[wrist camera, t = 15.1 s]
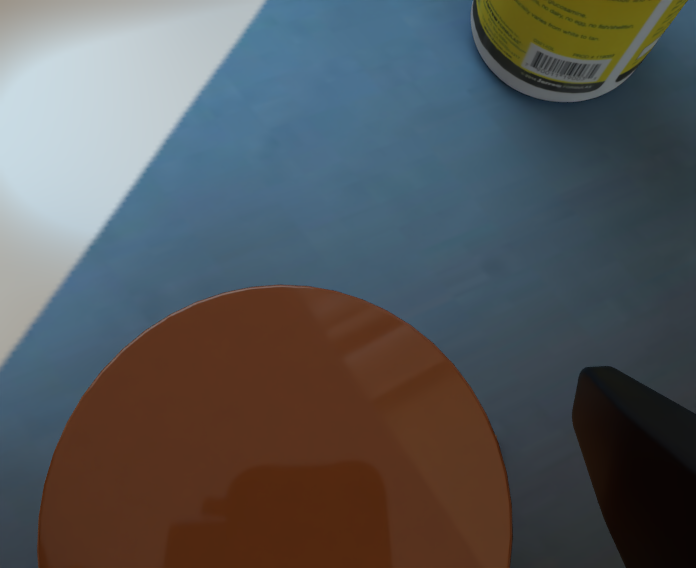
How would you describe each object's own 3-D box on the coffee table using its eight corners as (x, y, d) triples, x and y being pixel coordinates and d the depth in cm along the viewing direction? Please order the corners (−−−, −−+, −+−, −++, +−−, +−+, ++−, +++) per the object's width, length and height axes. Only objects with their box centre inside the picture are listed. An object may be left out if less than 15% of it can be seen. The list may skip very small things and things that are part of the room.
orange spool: (455, 423, 18) (568, 376, 10) (373, 668, 16) (423, 886, 8) (241, 339, 19) (166, 223, 10) (140, 568, 17) (-59, 666, 8)
